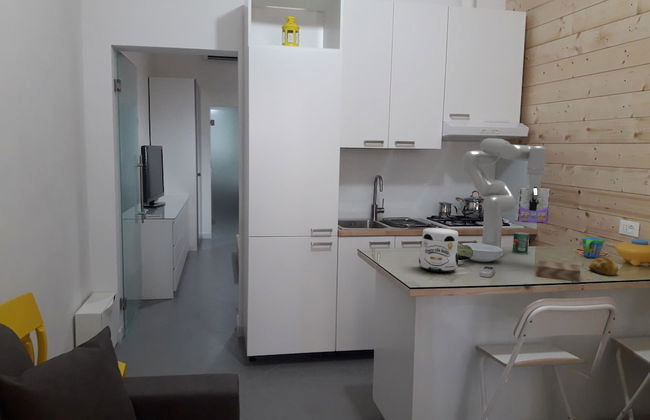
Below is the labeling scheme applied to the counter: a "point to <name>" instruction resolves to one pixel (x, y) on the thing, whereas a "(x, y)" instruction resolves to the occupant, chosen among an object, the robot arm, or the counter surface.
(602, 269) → the bread roll
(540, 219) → the candy box
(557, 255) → the counter surface
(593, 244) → the snack cup
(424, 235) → the milk container
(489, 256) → the serving bowl
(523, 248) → the canned tomato
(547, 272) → the walnut block
